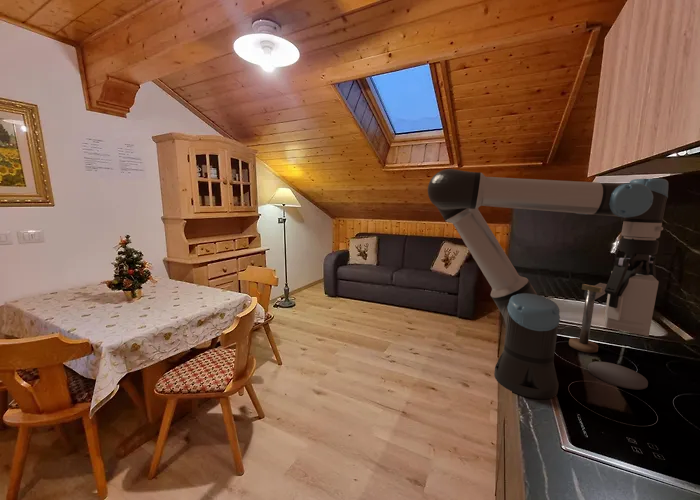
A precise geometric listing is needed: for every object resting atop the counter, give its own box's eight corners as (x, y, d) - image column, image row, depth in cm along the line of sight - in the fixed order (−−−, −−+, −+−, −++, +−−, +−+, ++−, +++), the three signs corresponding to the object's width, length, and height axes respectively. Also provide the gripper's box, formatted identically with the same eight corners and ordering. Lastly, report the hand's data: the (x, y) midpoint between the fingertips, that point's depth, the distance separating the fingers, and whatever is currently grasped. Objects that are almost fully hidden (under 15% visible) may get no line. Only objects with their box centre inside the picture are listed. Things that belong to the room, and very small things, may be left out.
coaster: (630, 393, 80) (630, 391, 79) (577, 368, 91) (578, 366, 91) (658, 383, 84) (658, 381, 84) (604, 360, 96) (605, 358, 96)
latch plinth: (588, 354, 100) (588, 350, 100) (563, 343, 107) (563, 339, 107) (603, 350, 103) (604, 346, 103) (578, 340, 110) (578, 336, 110)
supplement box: (649, 337, 79) (660, 281, 77) (605, 328, 85) (613, 275, 82) (644, 326, 86) (653, 274, 84) (603, 318, 92) (611, 269, 89)
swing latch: (591, 346, 102) (600, 288, 99) (573, 340, 106) (581, 284, 103) (606, 333, 113) (614, 280, 110) (589, 328, 117) (597, 277, 114)
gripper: (629, 241, 74) (616, 326, 77) (682, 238, 83) (668, 315, 86) (595, 237, 81) (584, 316, 84) (647, 235, 89) (635, 306, 93)
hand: (626, 315), depth 85 cm, fingers closed on supplement box, 12 cm apart
